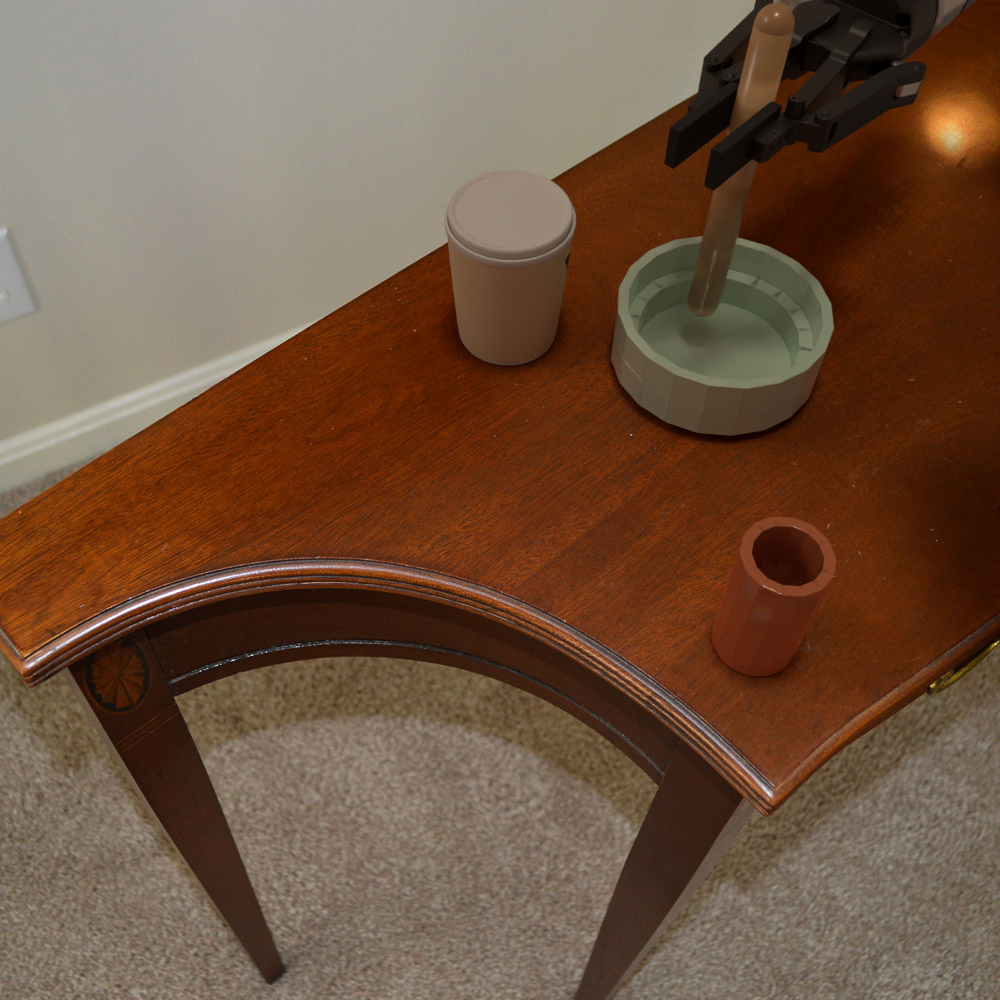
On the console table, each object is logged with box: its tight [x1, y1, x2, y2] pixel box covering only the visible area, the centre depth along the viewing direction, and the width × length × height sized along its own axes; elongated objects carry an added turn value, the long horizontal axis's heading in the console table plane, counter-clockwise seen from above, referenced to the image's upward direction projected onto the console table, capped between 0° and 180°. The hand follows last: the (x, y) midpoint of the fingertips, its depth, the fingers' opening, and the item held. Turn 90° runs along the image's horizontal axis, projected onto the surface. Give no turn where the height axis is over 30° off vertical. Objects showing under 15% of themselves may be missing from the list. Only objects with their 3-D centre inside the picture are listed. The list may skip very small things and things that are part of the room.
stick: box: [687, 2, 795, 317], centre depth 73 cm, size 2×2×24 cm
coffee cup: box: [443, 169, 577, 367], centre depth 81 cm, size 9×9×12 cm
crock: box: [710, 516, 837, 678], centre depth 66 cm, size 5×6×10 cm
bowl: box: [610, 235, 835, 437], centre depth 82 cm, size 16×16×6 cm
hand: (692, 158), depth 66 cm, fingers closed on stick, 2 cm apart
